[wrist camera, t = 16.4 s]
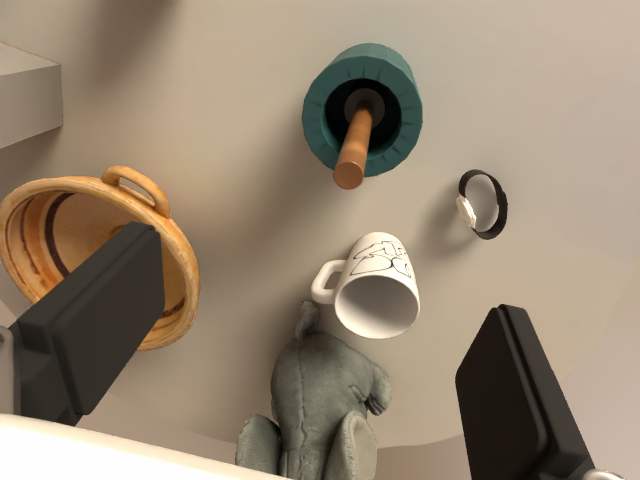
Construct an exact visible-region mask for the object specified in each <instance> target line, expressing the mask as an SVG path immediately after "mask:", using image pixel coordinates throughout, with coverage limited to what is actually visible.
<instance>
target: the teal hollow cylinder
mask: <svg viewBox="0 0 640 480" xmlns="http://www.w3.org/2000/svg"><path fill="white" fill-rule="evenodd" d="M365 78H366V79H370V80H375V81H378V82H380V83H381V84H382V85H383V87H384V89H385V91H386V112H385V116H384V119H383V120H382V122H381V123H380V124H379V125H378V126H377V127H376V128H374V129H372V130H371V132H370V139H369V145H368V151H367V158H366V164H365V171H364V177H371V176H377V175H379V174H382V173H384V172H387V171H389V170H391V169H393V168H395V167H396V166H397V165H398V164H400V163H401V162H402V161H403V160H405V159H406V158H407V156H408V155H409V153H410V152H411V150H412V149H413V148H414V146H415V145H416V143H417V140H418V137H419V134H420V131H421V127H422V123H423V120H422V102H421V99H420V96H419V92H418V89H417V86H416V83H415V80H414V77H413V74H412V71H411V69H410V67H409V65H408V64H407V63H406V61H405V60H404V59H403V58H402V56H401V55H400V54H398V53H397V52H396V51H394V50H392V49H391V48H389V47H386V46H383V45H380V44H373V43H367V44H360V45H356V46H353V47H351V48H349V49H347V50H346V51H344V52H342V53H341V54H339V55H338V56H337V57H336V58H335V59H334V60H333V61H332V62H331V63H330V64H329V65H328V66H327V67H326V68H325V69H324V71H323V72H322V73H321V74H320V75H319V76H318V77H317V78H316V79H315V80H314V81H313V83H312V85H311V87H310V89H309V91H308V93H307V95H306V97H305V100H304V105H303V113H302V123H303V129H304V135H305V138H306V140H307V142H308V144H309V146H310V148H311V150H312V152H313V153H314V154H315V155H316V156H317V157H318V158H319V159H320V160H321V161H322V163H323V164H324V165H326V166H327V167H329V168H331V169H332V170H334V169H335V166H336V163H337V160H338V157H339V154H340V152H341V149H342V146H343V143H344V140H345V137H346V134H347V131H348V128H349V124H348V122H347V121H346V119H345V116H344V111H343V108H344V103H345V100H346V98H347V96H348V94H349V92H350V90H351V88H352V86H353V85H354V84H355V83H356V82H357V81H359V80H361V79H365Z"/></svg>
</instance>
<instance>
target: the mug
mask: <svg viewBox="0 0 640 480" xmlns="http://www.w3.org/2000/svg"><path fill="white" fill-rule="evenodd" d="M334 272H342V273H341V276H340V279H339V283H338V285H337V287H335V288H334V289H329V290H325V289H324V286H325V284H326V282H327V280H328V278H329V276H330V275H331V274H332V273H334ZM311 295H312V297H313V299H314V300H315V301H316V302H318V303H321V304H334V308H335V312H336V315H337V317H338V319H339V320H340V322H341V323H342V324H343V325H344V326H345V327H346V328H347V329H348V330H350V331H351V332H353V333H355V334H357V335H359V336H362V337H366V338H370V339H388V338H393V337H396V336H399V335H401V334H403V333H404V332H406V331H407V330H409V329H410V328H411V327H412V326H413V325H414V323H415V322H416V320H417V318H418V315H419V310H420V302H419V295H418V290H417V285H416V280H415V276H414V272H413V269H412V266H411V263H410V261H409V258H408V256H407V253H406V251H405V249H404V247H403V245H402V244H401V242H400V241H399V240H398V239H397V238H395V237H394V236H392V235H390V234H387V233H382V232H375V233H370V234H367V235H365V236H363V237H362V238H360V239H359V240H358V241H357V242H356V244H355V245H354V247H353V249H352V251H351V253H350V255H349V257H348V259H347V260H335V261H330V262H327V263H326V264H324V265H323V266H322V268H321V270H320V271H319V273H318V275H317V276H316V278H315V280H314V281H313V283H312V286H311Z"/></svg>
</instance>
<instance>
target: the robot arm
mask: <svg viewBox="0 0 640 480" xmlns="http://www.w3.org/2000/svg"><path fill="white" fill-rule="evenodd" d="M164 308H165V290H164V276H163V262H162V247H161V235H160V233H159V232H157V231H156V230H155V227H154V226H153V225H150V224H145V223H141V222H136V221H131V222H129V223H128V224H126V225H125V226H124V227H123V228H122V229H121V230H120V231H118V232H117V233H116V234H115V235H114V236H113V237H111V238H110V239H109V240H108V241H107V242H106V243H105V244H103V245H102V246H101V247H100V248H99V249H98V250H96V251H95V252H94V253H93V254H92V255H91V256H90V257H88V258H87V259H86V260H85V261H84V262H83V263H81V264H80V265H79V266H78V267H77V268H76V269H75V270H73V271H72V272H71V273H70V274H69V275H68V276H67V277H65V278H64V279H63V280H62V281H61V282H60V283H58V284H57V285H56V286H55V287H54V288H53V289H52V290H50V291H49V292H48V293H47V294H46V295H45V296H43V297H42V298H41V299H40V300H39V301H38V302H37V303H35V304H34V305H33V306H32V307H31V308H30V309H28V310H27V311H26V312H25V313H24V314H23V315H22V316H20V317H19V318H18V319H17V321H16V322H15V323H13V324H12V325H11V326H10V327H9V328H8V329H7V328H6V327H3V326H0V480H293V479H289V478H285V477H281V476H277V475H273V474H269V473H265V472H261V471H257V470H253V469H249V468H245V467H240V466H236V465H232V464H228V463H224V462H220V461H216V460H212V459H208V458H204V457H200V456H195V455H191V454H187V453H183V452H179V451H175V450H171V449H167V448H162V447H158V446H154V445H150V444H146V443H142V442H137V441H134V440H129V439H125V438H121V437H116V436H113V435H109V434H104V433H100V432H95V431H90V430H86V429H82V428H77V427H75V425H76V424H77V423H78V421H79V420H80V419H81V417H82V416H83V415H89V414H90V413H91V412H92V411H93V410H94V409H95V407H96V406H97V404H98V403H99V402H100V400H101V399H102V397H103V396H104V395H105V393H106V392H107V390H108V389H109V388H110V386H111V385H112V383H113V382H114V381H115V379H116V378H117V376H118V375H119V374H120V372H121V371H122V369H123V368H124V367H125V365H126V364H127V362H128V361H129V360H130V358H131V357H132V356H133V354H134V353H135V351H136V350H137V349H138V347H139V346H140V344H141V343H142V342H143V340H144V339H145V337H146V336H147V335H148V333H149V332H150V330H151V329H152V328H153V326H154V325H155V323H156V322H157V321H158V319H159V318H160V316H161V315H162V313H163V311H164ZM455 384H456V390H457V396H458V402H459V408H460V414H461V419H462V425H463V431H464V437H465V443H466V448H467V455H468V461H469V466H470V472H471V477H472V480H626V479H624V478H622V477H621V476H620V475H617V474H615V473H613V472H611V471H608V470H603V469H596V468H595V466H594V463H593V461H592V459H591V457H590V454H589V452H588V450H587V447H586V445H585V443H584V441H583V438H582V436H581V434H580V431H579V429H578V427H577V424H576V422H575V420H574V418H573V415H572V413H571V411H570V408H569V406H568V404H567V402H566V400H565V397H564V395H563V392H562V390H561V388H560V386H559V383H558V381H557V379H556V376H555V374H554V372H553V370H552V369H551V367H550V364H549V362H548V360H547V357H546V355H545V353H544V351H543V348H542V346H541V344H540V341H539V339H538V337H537V334H536V332H535V330H534V328H533V325H532V323H531V321H530V318H529V316H528V314H527V312H526V310H525V309H523V308H519V307H514V306H510V305H505V304H501V305H499V306H498V308H492V309H491V310H490V312H489V313H488V315H487V317H486V319H485V321H484V323H483V324H482V326H481V328H480V330H479V332H478V333H477V335H476V337H475V339H474V341H473V343H472V344H471V346H470V348H469V350H468V352H467V354H466V355H465V357H464V359H463V361H462V363H461V365H460V366H459V368H458V370H457V373H456V378H455ZM55 422H56V423H55ZM59 423H60V424H59Z"/></svg>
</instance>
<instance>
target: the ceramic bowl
mask: <svg viewBox="0 0 640 480" xmlns="http://www.w3.org/2000/svg"><path fill="white" fill-rule="evenodd" d="M120 177H123V178H126V179H128V180H130V181H132V182H133V183H135V184H137V185H138V186H140V187H141V188H143V189H144V190H146V191H147V192H148V193H149V194H150V195H151V196H152V198H153V199H154V201H155V203H154V202H152V201H151V200H149V199H148V198H146V197H145V196H143V195H142V194H140V193H138V192H136V191H134V190H132V189H130V188H128V187H126V186H123V185H120ZM131 221H136V222H141V223H145V224H150V225H153V226H154V227H155V230H156V231H157V232H159V233H160V235H161V247H162V262H163V276H164V290H165V308H164V311H163V313H162V315H161V316H160V318H159V319H158V321H157V322H156V323H155V325H154V326H153V328H152V329H151V330H150V332H149V333H148V335H147V336H146V337H145V339H144V340H143V342H142V343H141V344H140V346H139V347H138V349H137V350H136V351H149V350H153V349H158V348H162V347H165V346H167V345H169V344H172V343H174V342H175V341H177V340H178V339H179V338H181V337H182V336H183V335H184V334H185V333H186V332H187V331H188V329H189V328H190V327H191V325H192V323H193V321H194V318H195V316H196V311H197V306H198V299H199V293H200V271H199V267H198V263H197V259H196V256H195V254H194V252H193V249H192V247H191V245H190V243H189V241H188V240H187V238H186V236H185V235H184V233H183V232H182V230H181V229H180V228H179V226H178V225H177V224H176V223H175V222H174V221H173V220H172V218H171V217H170V211H169V205H168V202H167V199H166V197H165V195H164V193H163V192H162V190H161V189H160V188H159V187H158V186H157V185H156V184H155V183H154V182H153V181H151V180H150V179H149V178H147V177H145V176H144V175H142V174H141V173H139V172H137V171H135V170H133V169H131V168H129V167H126V166H113V167H110V168H109V169H107V170H106V171H105V172H104V174H103V175H102V178H101V179H100V178H94V177H88V176H64V177H57V178H45V179H40V180H35V181H30V182H28V183H26V184H24V185H21V186H19V187H17V188H16V189H15V190H14V191H12V192H11V193H10V194H9V195H8V196H6V198H5V200H4V201H3V203H2V204H1V206H0V257H1V260H2V262H3V265H4V267H5V268H6V270H7V272H8V274H9V275H10V277H11V279H12V280H13V282H14V283H15V284H16V286H17V287H18V288H19V290H20V291H21V292H22V293H23V295H24V296H25V297H26V298H27V299H28V300H29V301H30V302H31V303H32V304H33V305H34V304H35V303H37V302H38V301H39V300H40V299H41V298H42V297H43V296H45V295H46V294H47V293H48V292H49V291H50V290H52V289H53V288H54V287H55V286H56V285H57V284H58V283H60V282H61V281H62V280H63V279H64V278H65V277H67V276H68V275H69V274H70V273H71V272H72V271H73V270H75V269H76V268H77V267H78V266H79V265H80V264H81V263H83V262H84V261H85V260H86V259H87V258H88V257H90V256H91V255H92V254H93V253H94V252H95V251H96V250H98V249H99V248H100V247H101V246H102V245H103V244H105V243H106V242H107V241H108V240H109V239H110V238H111V237H113V236H114V235H115V234H116V233H117V232H118V231H120V230H121V229H122V228H123V227H124V226H125V225H126V224H128V223H129V222H131Z"/></svg>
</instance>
